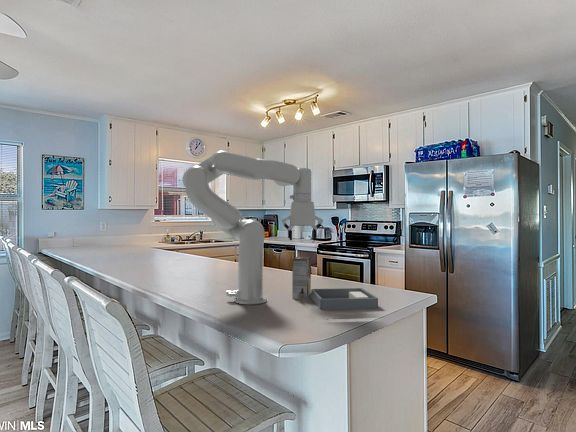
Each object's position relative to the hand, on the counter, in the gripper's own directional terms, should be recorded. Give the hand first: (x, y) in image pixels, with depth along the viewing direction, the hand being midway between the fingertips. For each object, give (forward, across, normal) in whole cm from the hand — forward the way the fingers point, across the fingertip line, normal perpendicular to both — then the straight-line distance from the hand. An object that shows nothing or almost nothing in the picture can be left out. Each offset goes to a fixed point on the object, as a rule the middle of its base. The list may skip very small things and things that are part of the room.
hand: (302, 239), depth 150 cm
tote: (+23, +13, -16) cm, 31 cm away
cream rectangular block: (+22, +19, -16) cm, 33 cm away
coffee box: (+24, 0, 0) cm, 24 cm away
